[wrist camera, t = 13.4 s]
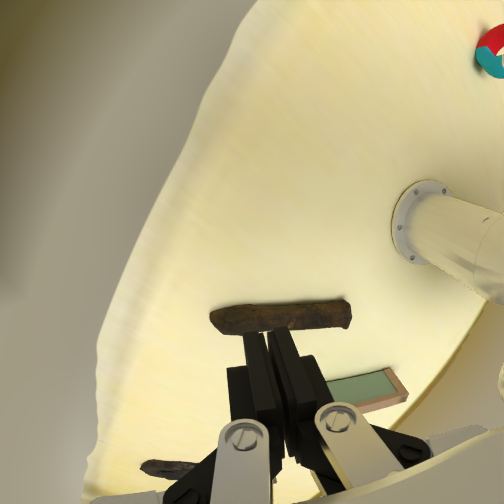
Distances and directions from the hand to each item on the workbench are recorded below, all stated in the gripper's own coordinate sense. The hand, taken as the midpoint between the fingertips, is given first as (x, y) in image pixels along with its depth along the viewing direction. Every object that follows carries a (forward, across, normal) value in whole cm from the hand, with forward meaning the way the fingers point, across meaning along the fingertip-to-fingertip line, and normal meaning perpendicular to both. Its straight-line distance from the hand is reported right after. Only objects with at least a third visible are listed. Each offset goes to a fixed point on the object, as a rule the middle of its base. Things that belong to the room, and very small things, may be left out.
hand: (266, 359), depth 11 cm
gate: (+27, -15, +31) cm, 44 cm away
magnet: (+27, -44, -25) cm, 58 cm away
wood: (+28, +16, +53) cm, 62 cm away
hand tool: (+28, -5, +15) cm, 32 cm away
